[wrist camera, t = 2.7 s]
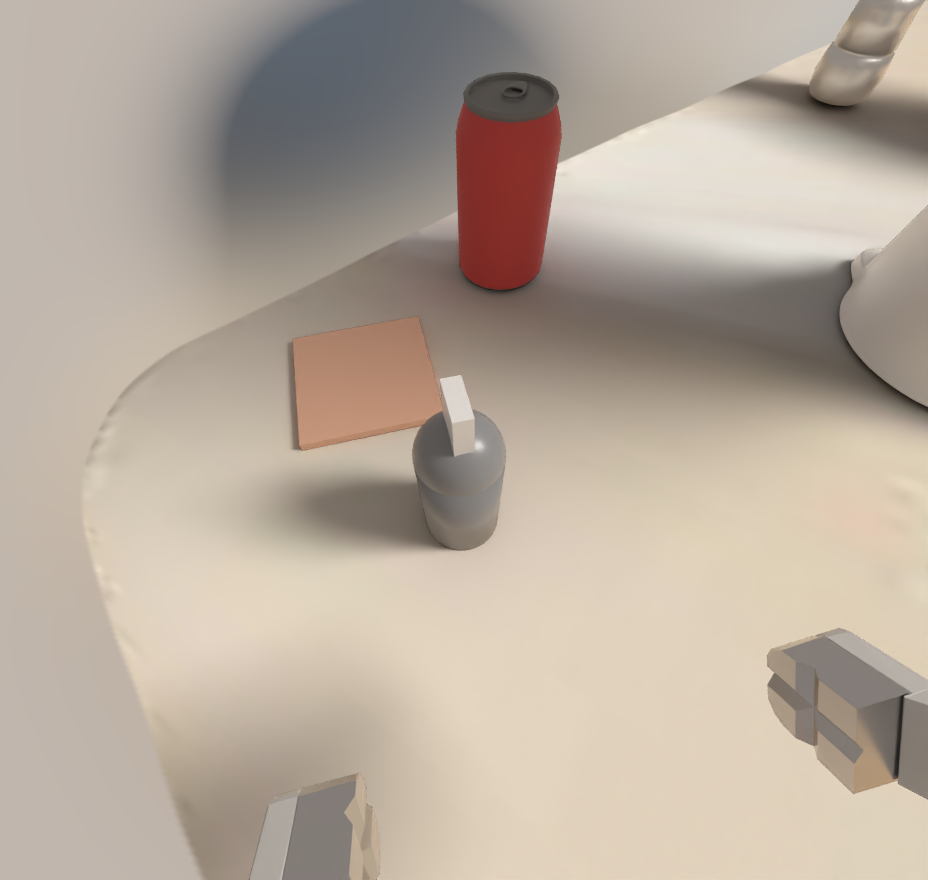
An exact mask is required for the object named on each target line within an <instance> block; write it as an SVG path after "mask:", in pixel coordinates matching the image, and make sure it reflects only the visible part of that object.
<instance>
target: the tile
mask: <svg viewBox="0 0 928 880" xmlns="http://www.w3.org/2000/svg"><path fill="white" fill-rule="evenodd" d="M293 354H294V370H295V386H296V402H297V418H298V434H299V446H300V447H301V449H302V450H306V449H311V448H316V447H321V446H326V445H330V444H335V443H340V442H345V441H349V440H354V439H359V438H364V437H369V436H373V435H378V434H383V433H388V432H392V431H397V430H402V429H407V428H411V427H416V426H421V425H423V424H424V423H425V422H426V421H427V420H428V419H429V418H430V417H432V416H433V415H434V414H436V413H438V412H440V411H443V409H442V402H441V398H440V395H439V391H438V387H437V384H436V380H435V376H434V373H433V369H432V365H431V362H430V358H429V354H428V350H427V347H426V343H425V339H424V336H423V332H422V328H421V325H420V321H419V317H418V316H416V317H410V318H405V319H399V320H394V321H388V322H382V323H377V324H371V325H366V326H360V327H355V328H349V329H344V330H338V331H333V332H327V333H322V334H316V335H311V336H305V337H300V338H294V339H293Z"/></svg>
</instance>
